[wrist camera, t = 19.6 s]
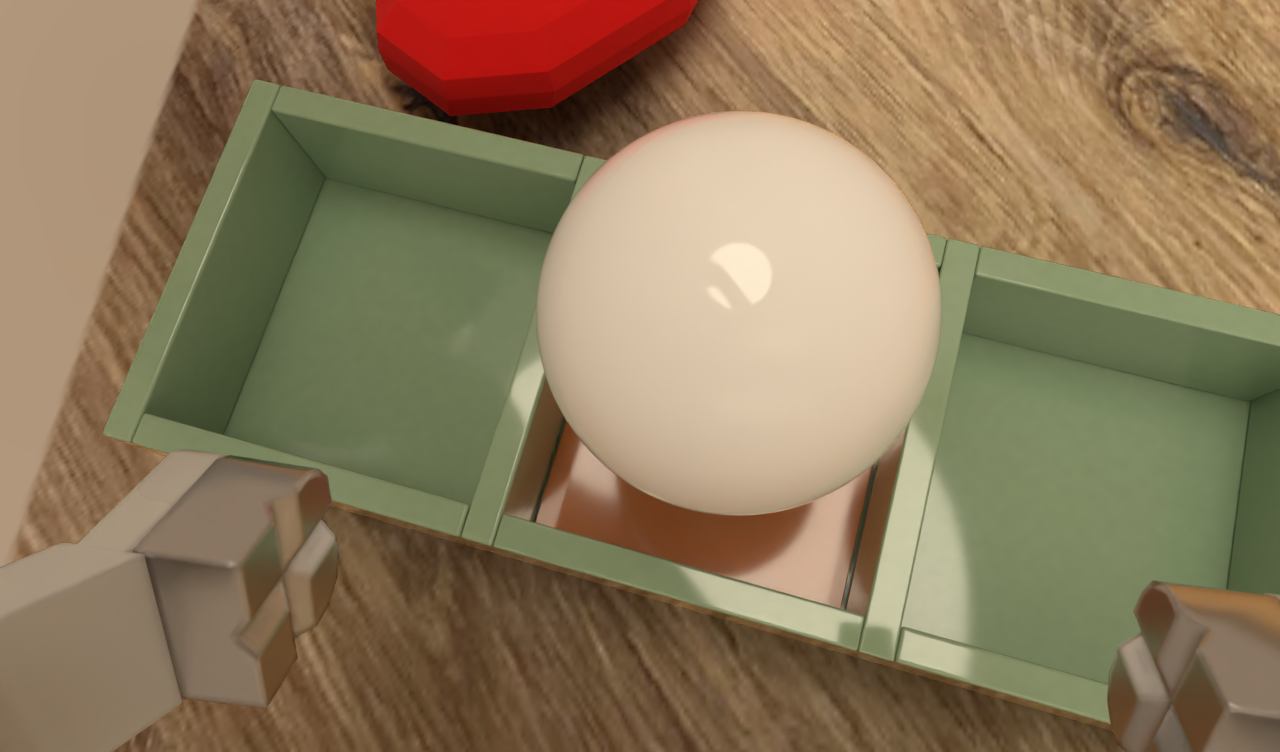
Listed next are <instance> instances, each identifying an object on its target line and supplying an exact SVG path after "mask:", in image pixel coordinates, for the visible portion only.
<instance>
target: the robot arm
mask: <svg viewBox="0 0 1280 752" xmlns="http://www.w3.org/2000/svg"><path fill="white" fill-rule="evenodd" d="M331 503H332V498H331V493H330V487H329V481H328V476H327V475H326V474H324V473H323V472H322V471H321V470H320V469H317V468H311V467H305V466H298V465H292V464H285V463H279V462H273V461H266V460H260V459H253V458H247V457H241V456H234V455H228V456H227V455H223V454H218V453H211V452H204V451H197V450H190V449H181V450H178V451H174V452H170V453H169V454H168V455H167V456H166V457H165V458H164V459H163V460H162V461H161V462H160V463H159V464H158V465H157V466H156V467H155V468H154V469H153V470H152V471H151V472H150V473H149V474H148V475H147V476H146V477H145V478H144V479H143V480H142V481H141V482H140V483H139V484H138V485H137V486H135V487H134V488H133V489H132V490H131V491H130V492H129V493H128V494H127V495H126V496H125V497H124V498H123V499H122V500H121V501H120V502H119V503H118V504H117V505H116V506H115V507H114V508H113V509H112V510H111V511H110V512H109V513H108V514H107V515H106V516H105V517H104V518H103V519H102V520H101V521H100V522H99V523H98V524H97V525H96V526H95V527H94V528H93V529H92V530H91V531H90V532H89V533H88V534H87V535H86V536H85V537H84V538H83V539H82V540H80V541H79V542H78V543H77V544H70V543H63V542H61V543H59V544H56V545H54V546H51V547H49V548H46V549H44V550H41V551H39V552H36V553H34V554H32V555H29V556H27V557H24V558H22V559H19V560H17V561H14V562H12V563H9V564H7V565H4V566H2V567H0V752H112V751H114V750H115V749H117V748H118V747H120V746H121V745H123V744H124V743H125V742H127V741H128V740H130V739H131V738H133V737H134V736H136V735H137V734H138V733H140V732H141V731H143V730H144V729H146V728H147V727H148V726H150V725H151V724H153V723H154V722H156V721H157V720H159V719H160V718H161V717H163V716H164V715H166V714H167V713H169V712H170V711H172V710H173V709H174V708H176V707H177V706H179V705H180V704H182V698H184V699H191V700H199V701H207V702H215V703H223V704H230V705H238V706H246V707H254V708H262V709H267V707H268V705H269V704H270V702H271V701H272V699H273V697H274V696H275V694H276V692H277V691H278V689H279V687H280V686H281V684H282V682H283V681H284V679H285V678H286V676H287V674H288V673H289V671H290V669H291V668H292V666H293V664H294V663H295V661H296V660H297V652H296V645H295V639H294V638H296V637H298V636H299V635H301V634H303V633H305V632H306V631H308V630H310V629H312V628H313V627H315V626H317V625H318V623H319V621H320V619H321V618H322V616H323V614H324V612H325V611H326V609H327V607H328V605H329V603H330V600H331V596H332V593H333V590H334V587H335V583H336V580H337V574H338V559H339V553H338V544H337V537H336V535H335V534H334V533H333V532H332V531H331V530H330V528H329V527H328V526H327V525H326V524H325V523H324V521H323V520H322V519H321V518H322V517H323V515H324V514H325V512H326V511H327V509H328V508H329V506H330V505H331ZM1133 612H1134V615H1135V617H1136V619H1137V622H1138V624H1139V627H1140V629H1141V632H1140V633H1138V634H1137V635H1135V636H1133V637H1132V638H1130V639H1129V640H1127V641H1125V642H1124V643H1122V644H1121V645H1119V646H1118V649H1117V652H1116V654H1115V657H1114V660H1113V662H1112V665H1111V668H1110V671H1109V679H1108V692H1107V704H1108V711H1109V718H1110V723H1111V726H1112V729H1113V732H1114V735H1115V738H1116V741H1117V744H1118V745H1119V746H1120V747H1121V748H1122V749H1123V750H1124V751H1125V752H1280V594H1271V593H1265V594H1257V593H1249V592H1241V591H1233V590H1226V589H1218V588H1210V587H1202V586H1194V585H1187V584H1179V583H1171V582H1163V581H1155V580H1152V581H1151V582H1150V584H1149V585H1148V586H1147V587H1146V588H1145V589H1144V590H1143V591H1142V592H1141V595H1140V597H1139V599H1138V601H1137V604H1136V606H1135V608H1134V610H1133Z"/></svg>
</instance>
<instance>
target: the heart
mask: <svg viewBox="0 0 1280 752" xmlns="http://www.w3.org/2000/svg"><path fill="white" fill-rule="evenodd" d="M697 2H698V0H376V7H377V38H378V48H379V52H380V54H381V56H382V58H383V60H384V62H385V64H386V66H387V68H388V70H390V71H391V72H392V73H394V74H395V75H396V76H398V77H399V78H400V79H402V80H403V81H404V82H406V83H407V84H408V85H410V86H411V87H412V88H414V89H415V90H416V91H418V92H419V93H420V94H422V95H423V96H424V97H426V98H427V99H428V100H430V101H431V102H432V103H434V104H435V105H436V106H437V107H439V108H440V109H441V110H443V111H444V112H445V113H447V114H448V115H449V116H461V115H472V114H484V113H495V112H507V111H518V110H530V109H541V108H552V107H553V106H555V105H556V104H558V103H560V102H561V101H563V100H564V99H566V98H568V97H569V96H571V95H572V94H574V93H576V92H577V91H579V90H581V89H582V88H584V87H585V86H587V85H589V84H590V83H592V82H593V81H595V80H597V79H598V78H600V77H601V76H603V75H605V74H606V73H608V72H609V71H611V70H613V69H614V68H616V67H618V66H619V65H621V64H622V63H624V62H626V61H627V60H629V59H630V58H632V57H634V56H635V55H637V54H638V53H640V52H642V51H643V50H645V49H646V48H648V47H650V46H651V45H653V44H655V43H656V42H658V41H659V40H661V39H663V38H664V37H666V36H667V35H669V34H671V33H672V32H674V31H675V30H677V29H679V28H680V27H682V26H684V25H685V24H686V22H687V20H688V18H689V17H690V15H691V13H692V11H693V9H694V8H695V6H696V4H697Z"/></svg>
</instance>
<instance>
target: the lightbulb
mask: <svg viewBox="0 0 1280 752" xmlns="http://www.w3.org/2000/svg"><path fill="white" fill-rule="evenodd" d="M941 328H942V295H941V285H940V279H939V273H938V269H937V264H936V260H935V256H934V253H933V250H932V247H931V244H930V242H929V239H928V236H927V234H926V232H925V229H924V227H923V225H922V223H921V221H920V219H919V217H918V215H917V214H916V212H915V210H914V208H913V207H912V205H911V204H910V202H909V200H908V199H907V198H906V196H905V195H904V193H903V192H902V191H901V189H900V188H899V187H898V186H897V184H896V183H895V182H894V181H893V180H892V179H891V178H890V176H889V175H888V174H887V173H886V172H885V171H884V170H883V169H882V168H881V167H880V166H879V165H878V164H877V163H875V162H874V161H873V160H872V159H871V158H870V157H869V156H867V155H866V154H865V153H864V152H862V151H861V150H859V149H858V148H857V147H855V146H854V145H852V144H851V143H849V142H848V141H846V140H844V139H843V138H841V137H839V136H837V135H835V134H833V133H832V132H830V131H828V130H825V129H823V128H821V127H819V126H816V125H814V124H811V123H808V122H806V121H803V120H799V119H796V118H792V117H788V116H784V115H779V114H774V113H767V112H758V111H723V112H714V113H707V114H701V115H697V116H692V117H688V118H685V119H681V120H678V121H675V122H672V123H669V124H667V125H664V126H662V127H659V128H657V129H655V130H653V131H651V132H649V133H647V134H645V135H643V136H641V137H639V138H638V139H636V140H634V141H633V142H631V143H630V144H628V145H627V146H625V147H624V148H622V149H621V150H619V151H618V152H617V153H615V154H614V155H613V156H612V157H610V158H609V159H608V160H607V161H606V162H605V163H604V164H602V165H601V166H600V167H599V168H598V169H597V170H596V171H595V172H594V173H593V174H592V175H591V176H590V177H589V178H588V180H587V181H586V182H585V183H584V184H583V185H582V187H581V188H580V189H579V191H578V192H577V193H576V195H575V196H574V197H573V199H572V200H571V202H570V203H569V205H568V206H567V208H566V210H565V211H564V213H563V215H562V217H561V218H560V220H559V222H558V224H557V226H556V228H555V231H554V233H553V235H552V237H551V240H550V242H549V245H548V248H547V251H546V254H545V257H544V261H543V264H542V268H541V272H540V277H539V283H538V290H537V299H536V330H537V340H538V347H539V352H540V358H541V362H542V366H543V369H544V373H545V376H546V379H547V382H548V385H549V387H550V390H551V392H552V395H553V397H554V399H555V401H556V403H557V405H558V407H559V409H560V411H561V413H562V414H563V416H564V418H565V419H566V421H567V423H568V424H569V426H570V427H571V429H572V430H573V431H574V433H575V434H576V435H577V437H578V438H579V439H580V441H581V442H582V443H583V444H584V445H585V447H586V448H587V449H588V450H589V451H590V452H591V453H592V454H593V455H594V456H595V457H596V458H597V459H598V460H599V461H600V462H601V463H602V464H603V465H604V466H605V467H607V468H608V469H609V470H610V471H611V472H613V473H614V474H615V475H616V476H618V477H619V478H621V479H622V480H623V481H625V482H626V483H628V484H630V485H631V486H633V487H634V488H636V489H638V490H640V491H642V492H643V493H645V494H647V495H649V496H652V497H654V498H656V499H658V500H661V501H663V502H666V503H668V504H671V505H674V506H677V507H681V508H684V509H688V510H692V511H696V512H702V513H708V514H715V515H728V516H748V515H760V514H768V513H774V512H779V511H784V510H788V509H792V508H795V507H799V506H802V505H805V504H807V503H810V502H813V501H815V500H818V499H820V498H822V497H824V496H826V495H828V494H830V493H832V492H834V491H836V490H838V489H840V488H841V487H843V486H845V485H846V484H848V483H849V482H851V481H852V480H854V479H855V478H857V477H858V476H860V475H861V474H862V473H863V472H865V471H866V470H867V469H868V468H870V467H871V466H872V465H873V464H874V463H875V462H876V461H877V460H879V459H880V458H881V457H882V456H883V455H884V454H885V453H886V451H887V450H888V449H889V448H890V447H891V446H892V445H893V444H894V442H895V441H896V440H897V439H898V438H899V436H900V435H901V434H902V432H903V431H904V430H905V428H906V427H907V425H908V424H909V422H910V421H911V419H912V417H913V415H914V414H915V412H916V410H917V408H918V407H919V405H920V403H921V401H922V399H923V396H924V394H925V392H926V389H927V387H928V384H929V382H930V379H931V376H932V373H933V370H934V366H935V363H936V358H937V354H938V350H939V344H940V337H941Z"/></svg>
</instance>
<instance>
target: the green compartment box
mask: <svg viewBox="0 0 1280 752" xmlns="http://www.w3.org/2000/svg"><path fill="white" fill-rule="evenodd" d="M606 161H607V160H604V159H600V158H596V157H591V156H585V157H584V156H583V155H582V154H579V153H575V152H570V151H566V150H562V149H557V148H553V147H549V146H544V145H540V144H536V143H531V142H527V141H523V140H518V139H514V138H510V137H505V136H501V135H497V134H492V133H488V132H484V131H479V130H475V129H471V128H466V127H462V126H457V125H453V124H449V123H444V122H440V121H436V120H431V119H427V118H423V117H418V116H414V115H410V114H405V113H401V112H397V111H392V110H388V109H384V108H379V107H375V106H371V105H366V104H362V103H358V102H353V101H349V100H345V99H340V98H336V97H332V96H327V95H323V94H318V93H314V92H310V91H305V90H301V89H297V88H292V87H288V86H284V85H283V86H280V85H278V84H274V83H270V82H266V81H261V80H257V79H256V80H254V81H253V83H252V85H251V87H250V90H249V92H248V94H247V97H246V99H245V101H244V104H243V106H242V108H241V111H240V113H239V115H238V118H237V120H236V122H235V125H234V127H233V129H232V132H231V134H230V136H229V139H228V141H227V143H226V146H225V148H224V150H223V153H222V155H221V157H220V160H219V162H218V164H217V167H216V169H215V171H214V174H213V176H212V178H211V181H210V183H209V185H208V188H207V190H206V192H205V195H204V197H203V199H202V202H201V204H200V206H199V209H198V211H197V213H196V216H195V218H194V220H193V223H192V225H191V227H190V230H189V232H188V234H187V237H186V239H185V241H184V243H183V246H182V248H181V250H180V253H179V255H178V257H177V260H176V262H175V264H174V267H173V269H172V271H171V274H170V276H169V278H168V281H167V283H166V285H165V288H164V290H163V292H162V295H161V297H160V299H159V302H158V304H157V306H156V309H155V311H154V313H153V316H152V318H151V320H150V323H149V325H148V327H147V330H146V332H145V334H144V337H143V339H142V341H141V344H140V346H139V348H138V351H137V353H136V355H135V358H134V360H133V362H132V365H131V367H130V369H129V372H128V374H127V376H126V379H125V381H124V383H123V386H122V388H121V390H120V393H119V395H118V397H117V400H116V402H115V404H114V407H113V409H112V411H111V414H110V416H109V418H108V421H107V423H106V425H105V428H104V430H103V434H104V435H105V436H107V437H110V438H113V439H116V440H118V441H121V442H124V443H127V444H130V445H133V446H136V447H139V448H142V449H144V450H147V451H150V452H153V453H156V454H159V455H162V456H165V457H166V456H167V455H168V454H169V453H170V452H174V451H178V450H181V449H190V450H197V451H204V452H211V453H218V454H223V455H227V456H228V455H234V456H241V457H247V458H253V459H260V460H266V461H273V462H279V463H285V464H292V465H298V466H305V467H311V468H317V469H320V470H321V471H322V472H323V473H324V474H326V475H327V476H328V481H329V487H330V493H331V498H332V503H331V505H330V506H332V507H335V508H339V509H342V510H346V511H349V512H353V513H356V514H360V515H363V516H366V517H370V518H373V519H377V520H380V521H384V522H387V523H391V524H394V525H398V526H401V527H405V528H408V529H412V530H415V531H419V532H422V533H426V534H429V535H433V536H436V537H439V538H443V539H446V540H450V541H453V542H457V543H460V544H464V545H467V546H471V547H474V548H478V549H481V550H485V551H488V552H492V553H495V554H499V555H502V556H506V557H509V558H512V559H516V560H519V561H523V562H526V563H530V564H533V565H537V566H540V567H544V568H547V569H551V570H554V571H558V572H561V573H565V574H568V575H572V576H575V577H578V578H582V579H585V580H589V581H592V582H596V583H599V584H603V585H606V586H610V587H613V588H617V589H620V590H624V591H627V592H631V593H634V594H638V595H641V596H645V597H648V598H651V599H655V600H658V601H662V602H665V603H669V604H672V605H676V606H679V607H683V608H686V609H690V610H693V611H697V612H700V613H704V614H707V615H711V616H714V617H718V618H721V619H724V620H728V621H731V622H735V623H738V624H742V625H745V626H749V627H752V628H756V629H759V630H763V631H766V632H770V633H773V634H777V635H780V636H784V637H787V638H791V639H794V640H797V641H801V642H804V643H808V644H811V645H815V646H818V647H822V648H825V649H829V650H832V651H836V652H839V653H843V654H846V655H850V656H853V657H857V658H860V659H864V660H867V661H870V662H874V663H877V664H881V665H884V666H888V667H891V668H895V669H898V670H902V671H905V672H909V673H912V674H916V675H919V676H923V677H926V678H930V679H933V680H936V681H940V682H943V683H947V684H950V685H954V686H957V687H961V688H964V689H968V690H971V691H975V692H978V693H982V694H985V695H989V696H992V697H996V698H999V699H1003V700H1006V701H1009V702H1013V703H1016V704H1020V705H1023V706H1027V707H1030V708H1034V709H1037V710H1041V711H1044V712H1048V713H1051V714H1055V715H1058V716H1062V717H1065V718H1069V719H1072V720H1076V721H1079V722H1082V723H1086V724H1089V725H1093V726H1096V727H1100V728H1103V729H1107V730H1110V731H1113V729H1112V726H1111V723H1110V718H1109V711H1108V704H1107V692H1108V679H1109V671H1110V668H1111V665H1112V662H1113V660H1114V657H1115V654H1116V652H1117V649H1118V646H1119V645H1121V644H1122V643H1124V642H1125V641H1127V640H1129V639H1130V638H1132V637H1133V636H1135V635H1137V634H1138V633H1140V632H1141V629H1140V627H1139V624H1138V622H1137V619H1136V617H1135V615H1134V612H1133V610H1134V608H1135V606H1136V604H1137V601H1138V599H1139V597H1140V595H1141V592H1142V591H1143V590H1144V589H1145V588H1146V587H1147V586H1148V585H1149V584H1150V582H1151V581H1152V580H1155V581H1163V582H1171V583H1179V584H1187V585H1194V586H1202V587H1210V588H1218V589H1226V590H1233V591H1241V592H1249V593H1257V594H1265V593H1271V594H1280V315H1279V314H1275V313H1271V312H1266V311H1262V310H1258V309H1253V308H1249V307H1245V306H1240V305H1236V304H1232V303H1227V302H1223V301H1219V300H1214V299H1210V298H1206V297H1201V296H1197V295H1193V294H1188V293H1184V292H1180V291H1175V290H1171V289H1167V288H1162V287H1158V286H1154V285H1149V284H1145V283H1140V282H1136V281H1132V280H1127V279H1123V278H1119V277H1114V276H1110V275H1106V274H1101V273H1097V272H1093V271H1088V270H1084V269H1080V268H1075V267H1071V266H1067V265H1062V264H1058V263H1054V262H1049V261H1045V260H1041V259H1036V258H1032V257H1028V256H1023V255H1019V254H1015V253H1010V252H1006V251H1001V250H997V249H993V248H988V247H984V246H983V247H981V248H980V246H979V245H976V244H972V243H967V242H963V241H959V240H954V239H948V240H946V238H945V237H941V236H936V235H932V234H928V233H926V234H927V236H928V239H929V242H930V244H931V247H932V250H933V253H934V256H935V260H936V264H937V269H938V273H939V279H940V285H941V295H942V328H941V337H940V344H939V350H938V354H937V358H936V363H935V366H934V370H933V373H932V376H931V379H930V382H929V384H928V387H927V389H926V392H925V394H924V396H923V399H922V401H921V403H920V405H919V407H918V408H917V410H916V412H915V414H914V415H913V417H912V419H911V421H910V422H909V424H908V425H907V427H906V428H905V430H904V431H903V432H902V434H901V435H900V436H899V438H898V439H897V440H896V441H895V442H894V444H893V445H892V446H891V447H890V448H889V449H888V450H887V451H886V453H885V454H884V455H883V456H882V457H881V458H880V459H879V460H877V461H876V462H875V463H874V464H873V465H872V466H871V467H870V468H868V469H867V470H866V471H865V472H863V473H862V474H861V475H860V476H858V477H857V478H855V479H854V480H852V481H851V482H849V483H848V484H846V485H845V486H843V487H841V488H840V489H838V490H836V491H834V492H832V493H830V494H828V495H826V496H824V497H822V498H820V499H818V500H815V501H813V502H810V503H807V504H805V505H802V506H799V507H795V508H792V509H788V510H784V511H779V512H774V513H768V514H760V515H748V516H728V515H715V514H708V513H702V512H696V511H692V510H688V509H684V508H681V507H677V506H674V505H671V504H668V503H666V502H663V501H661V500H658V499H656V498H654V497H652V496H649V495H647V494H645V493H643V492H642V491H640V490H638V489H636V488H634V487H633V486H631V485H630V484H628V483H626V482H625V481H623V480H622V479H621V478H619V477H618V476H616V475H615V474H614V473H613V472H611V471H610V470H609V469H608V468H607V467H605V466H604V465H603V464H602V463H601V462H600V461H599V460H598V459H597V458H596V457H595V456H594V455H593V454H592V453H591V452H590V451H589V450H588V449H587V448H586V447H585V445H584V444H583V443H582V442H581V441H580V439H579V438H578V437H577V435H576V434H575V433H574V431H573V430H572V429H571V427H570V426H569V424H568V423H567V421H566V419H565V418H564V416H563V414H562V413H561V411H560V409H559V407H558V405H557V403H556V401H555V399H554V397H553V395H552V392H551V390H550V387H549V385H548V382H547V379H546V376H545V373H544V369H543V366H542V362H541V358H540V352H539V347H538V340H537V330H536V299H537V290H538V283H539V277H540V272H541V268H542V264H543V261H544V257H545V254H546V251H547V248H548V245H549V242H550V240H551V237H552V235H553V233H554V231H555V228H556V226H557V224H558V222H559V220H560V218H561V217H562V215H563V213H564V211H565V210H566V208H567V206H568V205H569V203H570V202H571V200H572V199H573V197H574V196H575V195H576V193H577V192H578V191H579V189H580V188H581V187H582V185H583V184H584V183H585V182H586V181H587V180H588V178H589V177H590V176H591V175H592V174H593V173H594V172H595V171H596V170H597V169H598V168H599V167H600V166H601V165H602V164H604V163H605V162H606Z"/></svg>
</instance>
